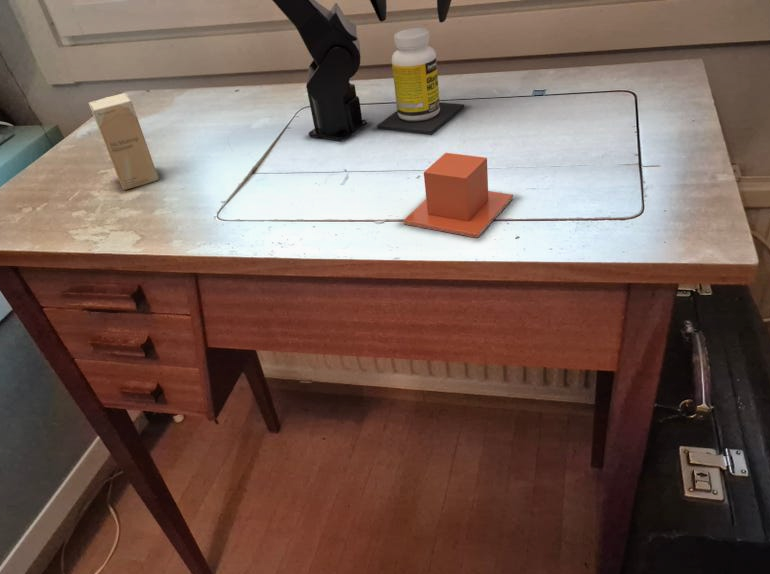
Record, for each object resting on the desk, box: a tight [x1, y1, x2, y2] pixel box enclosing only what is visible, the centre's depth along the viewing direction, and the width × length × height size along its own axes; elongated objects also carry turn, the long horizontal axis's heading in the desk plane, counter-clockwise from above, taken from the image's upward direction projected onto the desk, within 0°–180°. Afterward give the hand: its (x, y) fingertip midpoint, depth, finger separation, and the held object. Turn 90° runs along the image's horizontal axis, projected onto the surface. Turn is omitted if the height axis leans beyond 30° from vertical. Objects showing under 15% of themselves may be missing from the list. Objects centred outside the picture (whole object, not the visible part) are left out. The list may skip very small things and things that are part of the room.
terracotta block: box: [423, 152, 489, 221], centre depth 71 cm, size 5×5×5 cm
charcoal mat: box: [376, 101, 466, 136], centre depth 95 cm, size 9×10×1 cm
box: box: [88, 92, 160, 191], centre depth 89 cm, size 5×4×11 cm
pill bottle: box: [391, 27, 441, 121], centre depth 92 cm, size 6×6×11 cm
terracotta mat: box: [403, 190, 514, 239], centre depth 73 cm, size 9×9×1 cm
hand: (411, 21), depth 87 cm, fingers open, 9 cm apart
